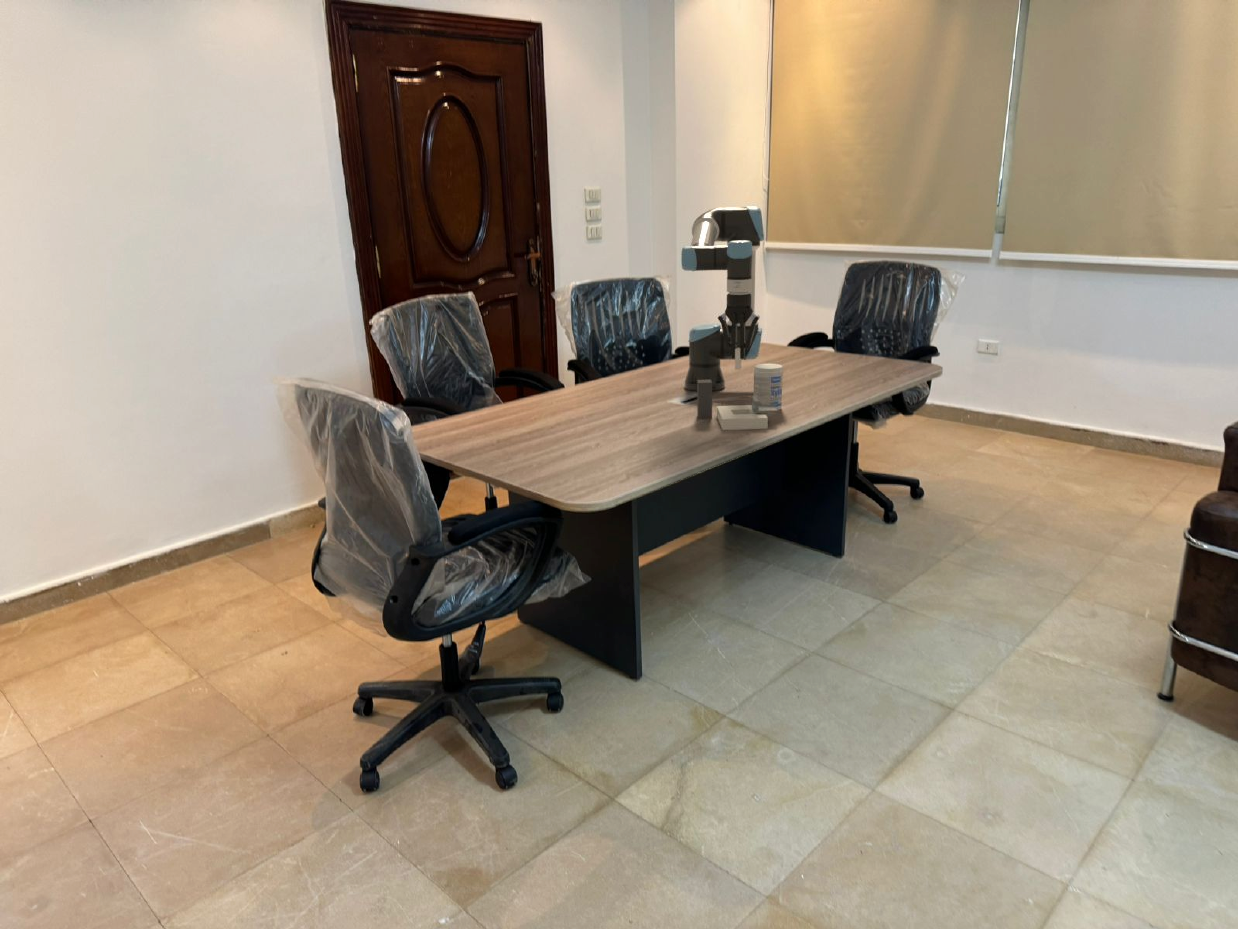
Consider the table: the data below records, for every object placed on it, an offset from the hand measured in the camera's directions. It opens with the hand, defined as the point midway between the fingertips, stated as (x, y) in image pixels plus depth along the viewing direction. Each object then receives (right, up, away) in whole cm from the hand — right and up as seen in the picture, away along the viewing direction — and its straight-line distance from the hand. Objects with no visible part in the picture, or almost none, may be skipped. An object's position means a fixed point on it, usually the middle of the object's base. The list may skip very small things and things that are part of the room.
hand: (738, 368), depth 257 cm
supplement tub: (+13, -12, +19) cm, 26 cm away
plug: (-9, -15, +12) cm, 21 cm away
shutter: (+9, -13, +3) cm, 16 cm away
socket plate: (+2, -17, +4) cm, 17 cm away
